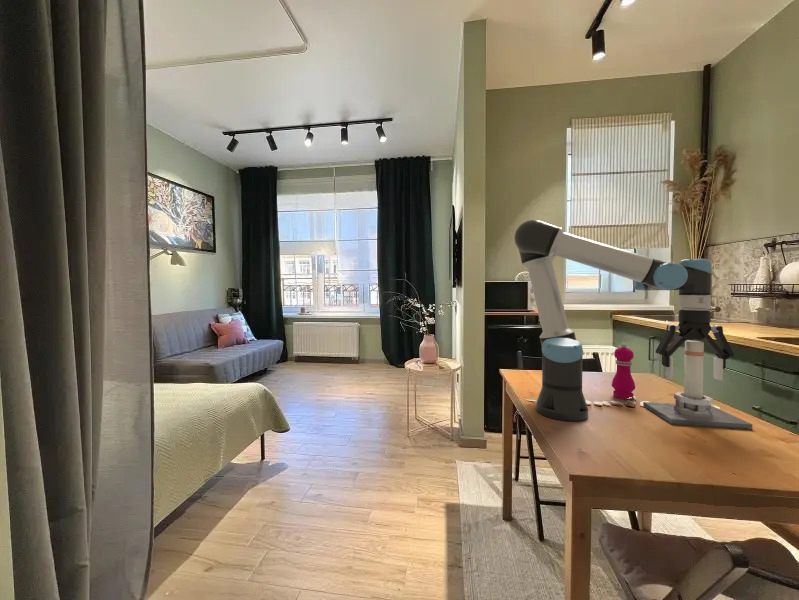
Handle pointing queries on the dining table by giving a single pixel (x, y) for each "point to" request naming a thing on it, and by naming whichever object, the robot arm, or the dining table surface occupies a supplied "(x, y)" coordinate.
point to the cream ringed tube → (693, 371)
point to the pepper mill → (623, 373)
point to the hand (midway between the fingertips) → (693, 378)
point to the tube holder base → (695, 413)
